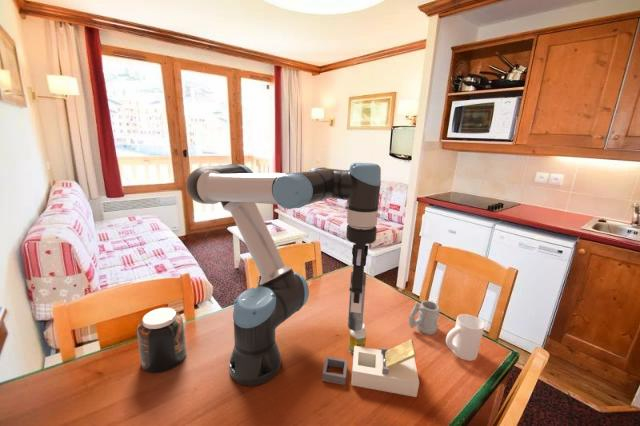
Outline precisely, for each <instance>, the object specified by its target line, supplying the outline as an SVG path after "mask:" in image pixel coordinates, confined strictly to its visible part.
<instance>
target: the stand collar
mask: <svg viewBox="0 0 640 426" xmlns="http://www.w3.org/2000/svg"><path fill="white" fill-rule="evenodd" d="M328 367H332V368H333V367H334V368H340V369H343V374H339V373H335V372H328ZM347 368H348V360H347V359H342V358H338V357H332V356H331V357H330V356H325V360H324V365H323V371H322V375H321V376H322V378H321V379H322V380H321V381H322V382H327V383H333V384H338V385H343V386H345V385H346V381H347V379H346V378H347V371H348V369H347Z"/></svg>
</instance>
